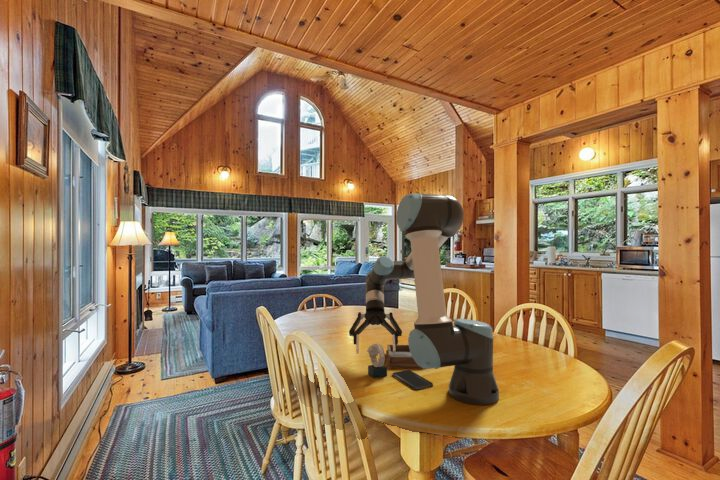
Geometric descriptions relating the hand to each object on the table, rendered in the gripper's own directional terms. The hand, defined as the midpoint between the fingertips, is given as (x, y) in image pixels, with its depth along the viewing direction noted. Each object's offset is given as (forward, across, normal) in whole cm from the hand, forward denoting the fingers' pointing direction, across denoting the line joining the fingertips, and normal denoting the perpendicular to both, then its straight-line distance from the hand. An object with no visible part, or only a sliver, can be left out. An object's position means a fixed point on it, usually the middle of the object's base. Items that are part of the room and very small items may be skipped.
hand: (375, 352), depth 132 cm
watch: (+7, 0, -4) cm, 8 cm away
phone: (+11, -12, -1) cm, 16 cm away
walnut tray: (-4, -12, -15) cm, 20 cm away
